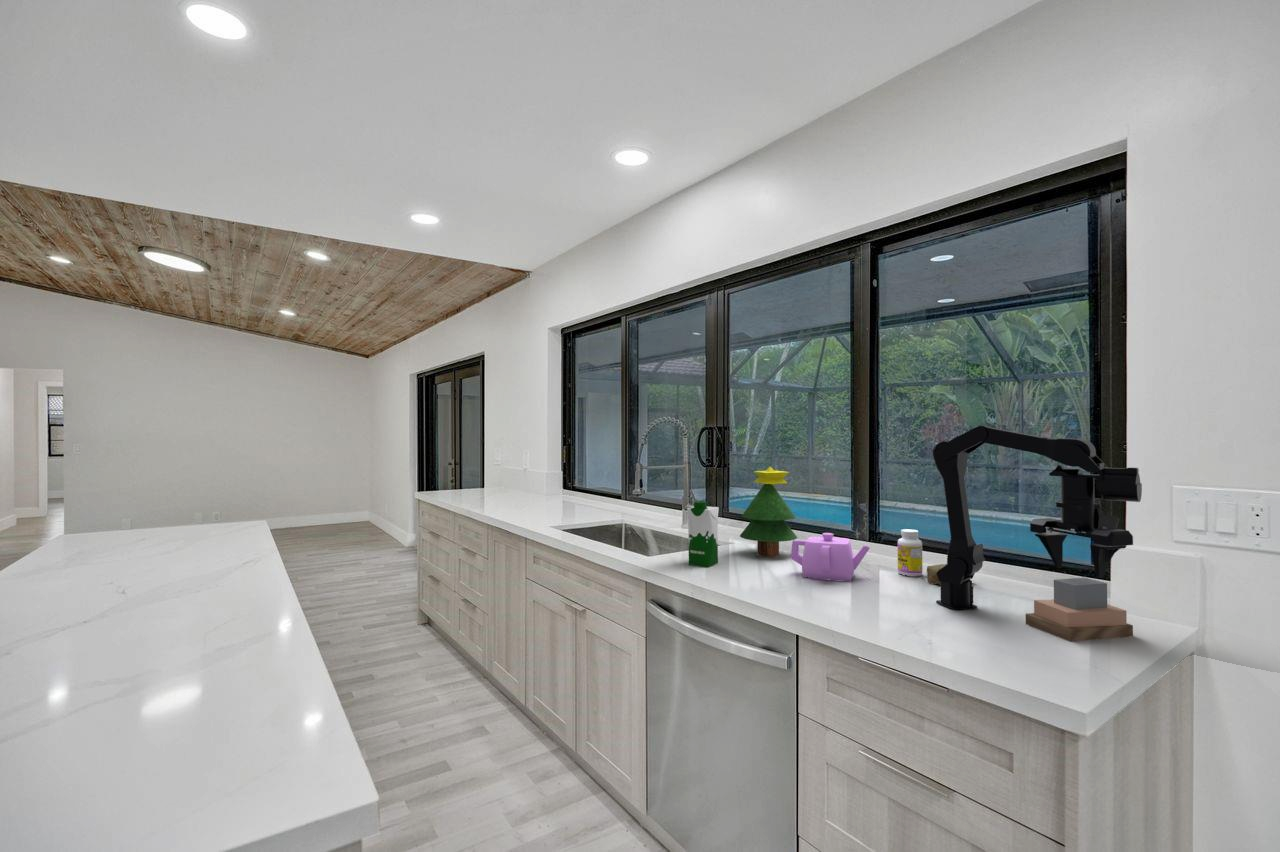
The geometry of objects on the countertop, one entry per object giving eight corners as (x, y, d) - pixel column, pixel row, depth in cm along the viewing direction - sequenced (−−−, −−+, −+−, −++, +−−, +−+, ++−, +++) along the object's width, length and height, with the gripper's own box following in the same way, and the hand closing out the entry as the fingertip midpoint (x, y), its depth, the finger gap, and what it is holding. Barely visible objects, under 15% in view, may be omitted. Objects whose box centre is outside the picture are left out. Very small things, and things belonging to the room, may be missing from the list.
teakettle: (786, 572, 179) (786, 531, 179) (831, 566, 186) (830, 526, 186) (825, 585, 163) (825, 540, 163) (872, 579, 170) (872, 535, 170)
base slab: (1070, 645, 119) (1070, 630, 119) (1025, 627, 130) (1025, 613, 130) (1133, 639, 122) (1132, 625, 122) (1083, 623, 133) (1083, 609, 133)
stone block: (973, 583, 165) (972, 565, 165) (941, 588, 161) (941, 569, 161) (955, 578, 170) (954, 561, 170) (924, 583, 166) (924, 565, 166)
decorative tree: (730, 551, 210) (729, 465, 211) (778, 547, 216) (777, 464, 216) (756, 562, 192) (756, 469, 192) (808, 558, 198) (808, 467, 198)
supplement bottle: (893, 571, 178) (892, 528, 178) (914, 571, 179) (914, 528, 179) (905, 577, 172) (904, 532, 172) (927, 576, 172) (926, 532, 172)
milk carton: (684, 565, 189) (684, 501, 189) (697, 559, 197) (697, 498, 197) (709, 568, 184) (709, 503, 184) (722, 562, 192) (721, 500, 192)
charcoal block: (1075, 609, 123) (1075, 585, 123) (1054, 603, 128) (1053, 579, 128) (1107, 607, 124) (1107, 583, 124) (1085, 600, 129) (1084, 577, 129)
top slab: (1067, 627, 121) (1067, 612, 121) (1034, 613, 130) (1034, 600, 130) (1126, 625, 122) (1126, 610, 122) (1089, 611, 131) (1089, 598, 131)
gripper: (1154, 501, 119) (1155, 580, 119) (1067, 492, 137) (1069, 561, 137) (1109, 503, 116) (1110, 584, 116) (1027, 494, 134) (1028, 563, 134)
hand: (1078, 572), depth 126 cm, fingers open, 9 cm apart
